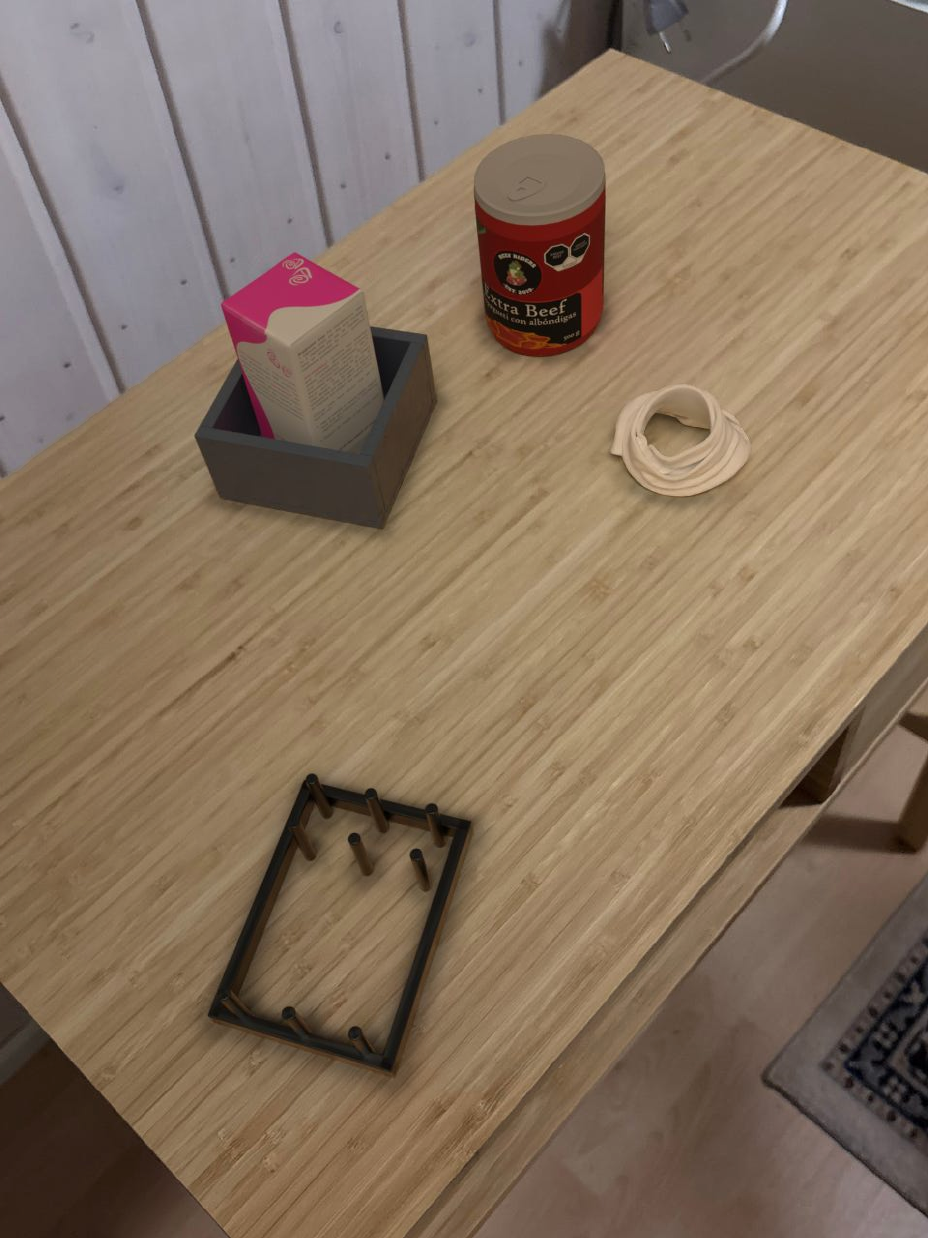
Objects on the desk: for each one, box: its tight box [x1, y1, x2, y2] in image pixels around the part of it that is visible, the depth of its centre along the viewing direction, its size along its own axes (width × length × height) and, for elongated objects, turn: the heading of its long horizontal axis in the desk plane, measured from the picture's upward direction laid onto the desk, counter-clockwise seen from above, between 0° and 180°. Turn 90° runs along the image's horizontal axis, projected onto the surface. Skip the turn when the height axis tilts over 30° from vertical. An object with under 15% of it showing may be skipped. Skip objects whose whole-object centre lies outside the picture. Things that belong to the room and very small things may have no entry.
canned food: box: [473, 133, 607, 357], centre depth 71 cm, size 8×8×11 cm
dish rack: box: [207, 772, 474, 1079], centre depth 53 cm, size 12×9×4 cm
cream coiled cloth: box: [609, 383, 752, 497], centre depth 67 cm, size 8×7×5 cm
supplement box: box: [220, 251, 384, 454], centre depth 66 cm, size 6×6×12 cm
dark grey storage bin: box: [194, 325, 438, 530], centre depth 69 cm, size 11×11×6 cm
